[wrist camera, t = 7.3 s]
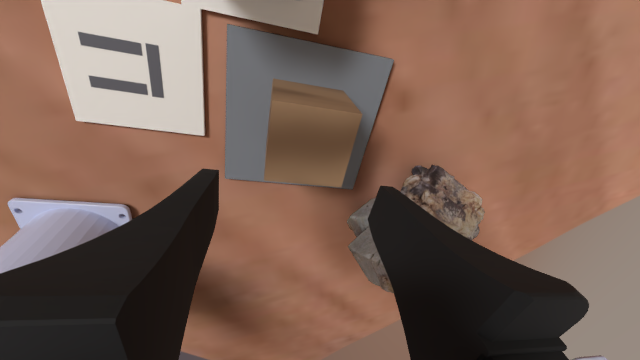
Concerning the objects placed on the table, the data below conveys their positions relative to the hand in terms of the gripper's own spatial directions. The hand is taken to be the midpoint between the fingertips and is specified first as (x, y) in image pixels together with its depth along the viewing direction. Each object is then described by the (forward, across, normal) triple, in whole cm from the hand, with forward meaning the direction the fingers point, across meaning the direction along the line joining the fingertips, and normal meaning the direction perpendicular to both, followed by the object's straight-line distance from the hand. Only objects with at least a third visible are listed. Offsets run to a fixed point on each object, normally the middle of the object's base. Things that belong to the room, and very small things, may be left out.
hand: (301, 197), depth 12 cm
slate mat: (+10, -1, 0) cm, 10 cm away
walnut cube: (+9, -1, 0) cm, 9 cm away
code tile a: (+10, +10, -2) cm, 14 cm away
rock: (+10, -12, +7) cm, 17 cm away
